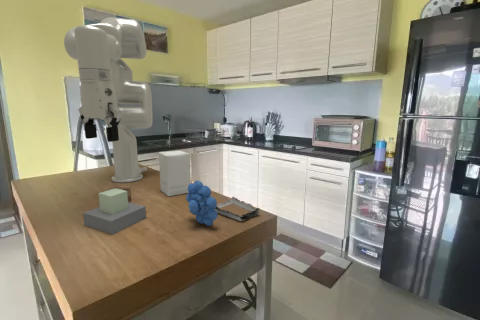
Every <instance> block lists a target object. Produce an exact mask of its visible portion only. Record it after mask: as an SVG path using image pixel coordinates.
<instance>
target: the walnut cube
mask: <svg viewBox="0 0 480 320" xmlns="http://www.w3.org/2000/svg"><path fill="white" fill-rule="evenodd" d="M114 188H116V189H121V190H125V191H127V195H128V202H129V203H132V193H131V190H132V189H131V187H130V186H125V185H123V184H122V185H116V186H112V187H110V188H106V191H108V190H111V189H114Z"/></svg>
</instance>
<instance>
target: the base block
mask: <svg viewBox="0 0 480 320" xmlns="http://www.w3.org/2000/svg"><path fill="white" fill-rule="evenodd" d="M128 207H129V208H128V209H125V210H123V211H120V212H118V213H115V214H113V215H112V214H109V213H106V212H102V211H100V206H98V207H95V208H93V209H90V210H89V209H88V210H87V211H83V213H82V215H83V225H84V226H86V227H87V228H91V229H94V230H97V231H100V232H103V233H106V234H110V235H114V234H118V232H121V231H123V230H125V229H126V228H129V227H131V226H133V225H135V224H137V223H140V222H141V221H143V220H145V219H147V208H146V205H141V204H137V203H132V202H128Z"/></svg>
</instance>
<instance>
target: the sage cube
mask: <svg viewBox="0 0 480 320" xmlns="http://www.w3.org/2000/svg"><path fill="white" fill-rule="evenodd" d="M98 201H99V202H98V203H99V207H100V211H102V212H106V213H109V214H112V215H113V214H115V213H118V212H120V211H123V210H125V209H128V208H129V207H128V195H127V191H125V190H121V189H116V188H114V189H111V190H108V191H107V190H105V191H101V192H98Z"/></svg>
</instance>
